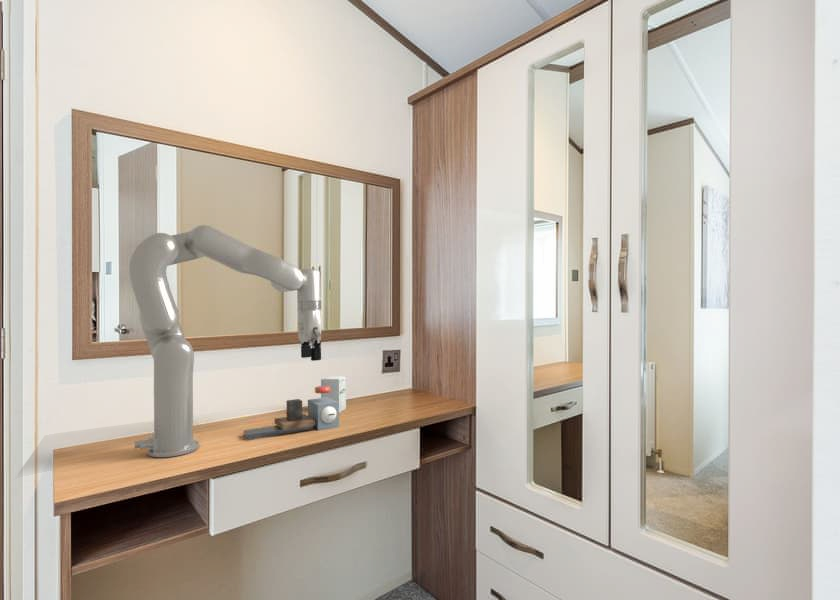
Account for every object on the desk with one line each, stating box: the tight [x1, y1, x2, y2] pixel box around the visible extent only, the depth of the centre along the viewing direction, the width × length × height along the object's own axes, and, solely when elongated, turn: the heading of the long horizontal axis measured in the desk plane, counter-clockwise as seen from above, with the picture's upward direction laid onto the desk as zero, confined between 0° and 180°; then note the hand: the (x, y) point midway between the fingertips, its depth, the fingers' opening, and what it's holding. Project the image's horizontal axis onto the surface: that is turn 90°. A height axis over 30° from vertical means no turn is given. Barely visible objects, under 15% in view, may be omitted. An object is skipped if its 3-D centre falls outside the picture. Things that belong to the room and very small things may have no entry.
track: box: [242, 424, 314, 441], centre depth 140 cm, size 20×6×2 cm, turn 123°
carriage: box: [274, 398, 315, 430], centre depth 143 cm, size 10×10×8 cm
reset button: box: [314, 385, 330, 394], centre depth 148 cm, size 5×5×2 cm
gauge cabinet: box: [307, 397, 340, 431], centre depth 148 cm, size 7×10×8 cm
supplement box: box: [320, 375, 347, 414], centre depth 168 cm, size 7×7×13 cm
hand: (311, 358), depth 146 cm, fingers open, 9 cm apart
